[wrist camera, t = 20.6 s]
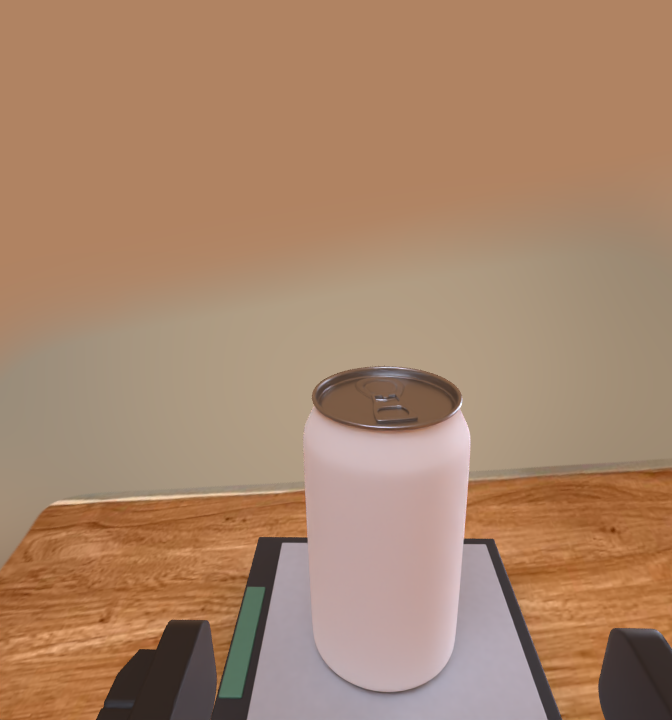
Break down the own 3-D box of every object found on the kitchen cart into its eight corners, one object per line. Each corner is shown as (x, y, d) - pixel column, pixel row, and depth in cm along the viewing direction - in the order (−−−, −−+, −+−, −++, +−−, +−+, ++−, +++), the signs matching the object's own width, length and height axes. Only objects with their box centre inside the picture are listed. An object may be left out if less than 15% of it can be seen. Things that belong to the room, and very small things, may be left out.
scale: (193, 854, 18) (183, 800, 17) (261, 568, 31) (258, 528, 30) (591, 867, 17) (606, 813, 16) (490, 570, 31) (494, 529, 30)
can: (430, 572, 27) (442, 358, 22) (477, 689, 20) (505, 425, 16) (308, 585, 26) (296, 367, 22) (318, 710, 20) (306, 440, 16)
